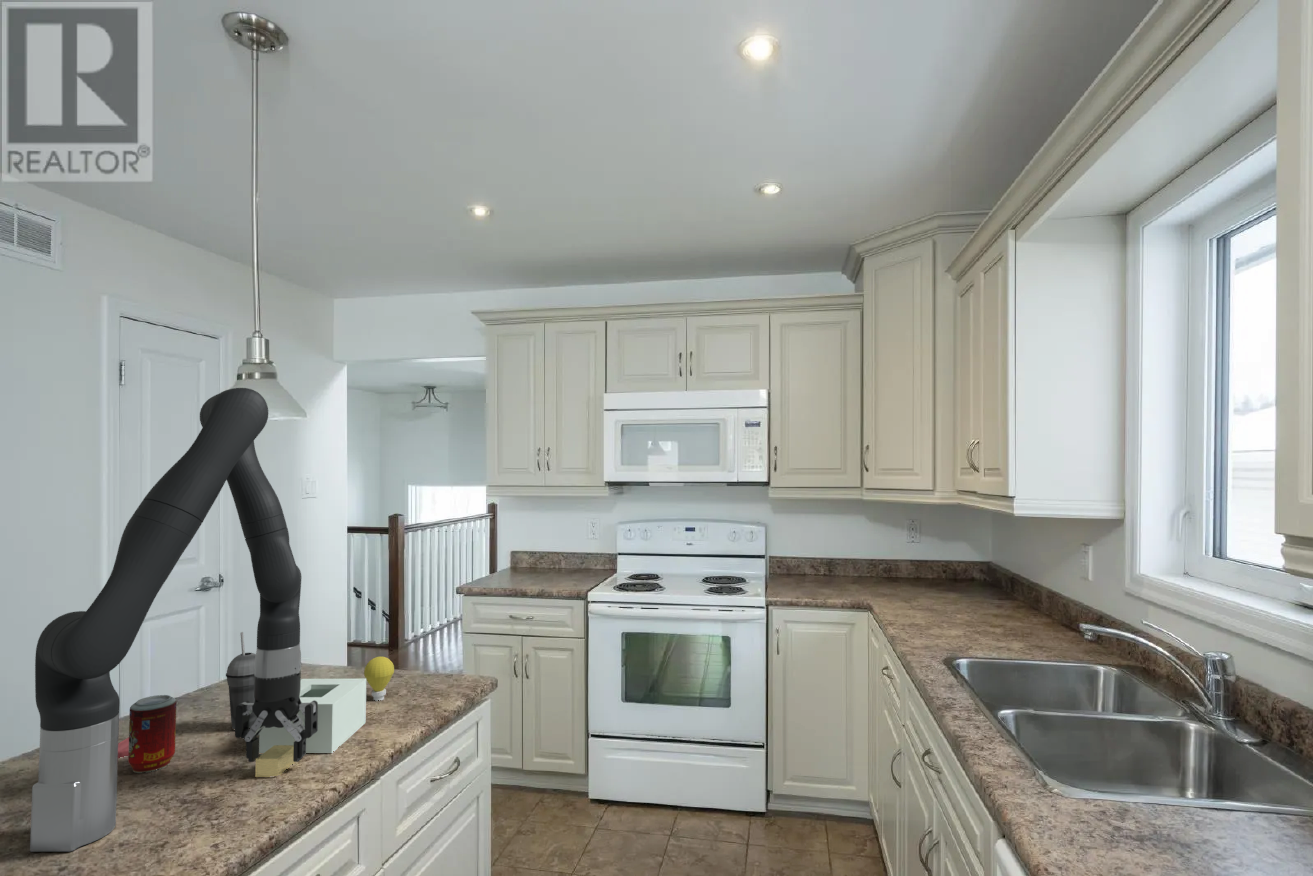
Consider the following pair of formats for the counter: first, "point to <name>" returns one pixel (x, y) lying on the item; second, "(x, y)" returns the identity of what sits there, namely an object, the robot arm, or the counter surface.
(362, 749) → the counter surface
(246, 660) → the beverage cup
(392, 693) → the counter surface
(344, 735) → the box
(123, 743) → the popsicle
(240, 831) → the counter surface
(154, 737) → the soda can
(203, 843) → the counter surface
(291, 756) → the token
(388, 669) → the light bulb
